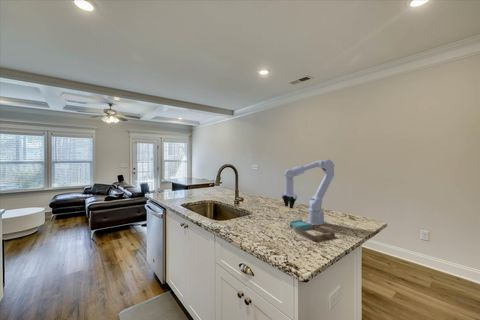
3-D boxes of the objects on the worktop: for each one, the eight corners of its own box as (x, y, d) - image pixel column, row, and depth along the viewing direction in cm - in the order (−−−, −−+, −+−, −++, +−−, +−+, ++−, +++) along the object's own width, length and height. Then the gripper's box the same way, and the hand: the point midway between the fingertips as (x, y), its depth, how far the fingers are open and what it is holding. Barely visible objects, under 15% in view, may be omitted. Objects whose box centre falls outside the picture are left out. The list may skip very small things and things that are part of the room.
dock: (314, 228, 128) (314, 224, 128) (334, 237, 114) (334, 232, 114) (295, 231, 122) (295, 227, 122) (313, 241, 108) (313, 236, 108)
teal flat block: (301, 225, 135) (301, 219, 135) (310, 228, 128) (310, 222, 128) (289, 227, 132) (289, 220, 132) (297, 231, 124) (297, 224, 124)
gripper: (278, 186, 145) (277, 205, 145) (290, 189, 131) (290, 210, 132) (286, 185, 148) (286, 204, 148) (299, 188, 134) (299, 209, 134)
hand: (288, 207), depth 140 cm, fingers open, 5 cm apart
